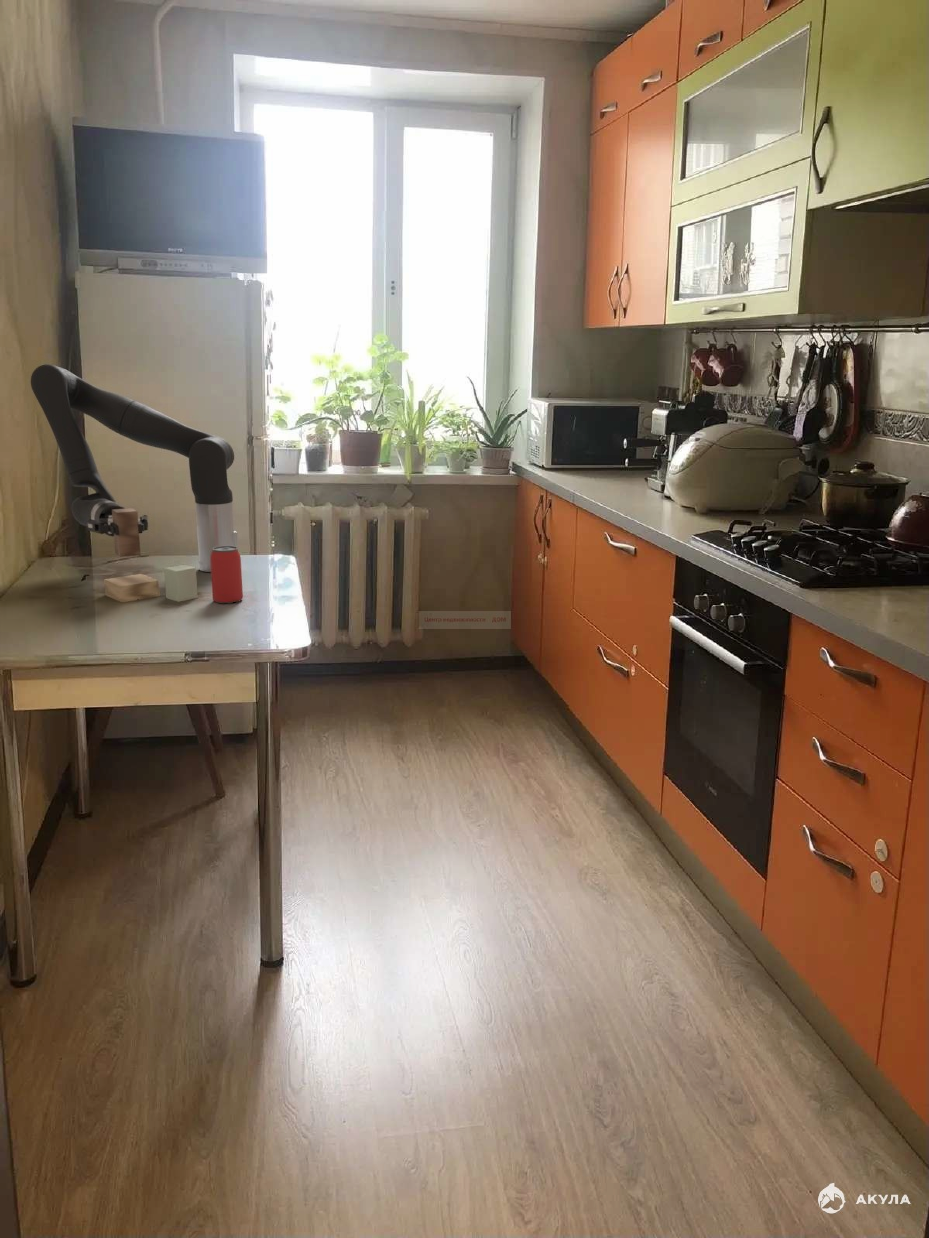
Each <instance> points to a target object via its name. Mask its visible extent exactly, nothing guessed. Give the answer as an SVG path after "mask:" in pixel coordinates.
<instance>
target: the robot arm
mask: <svg viewBox="0 0 929 1238" xmlns="http://www.w3.org/2000/svg"><path fill="white" fill-rule="evenodd" d="M30 386H31V387H30V388H31V390H32V393H33V394H34V397H35V399H36V400H37V402H38V404H39V406H40V408H41V409H42V411H43V413H44V416H45V418H46V420H47V422H48V424H49V426H50V428H51V431H52V433H53V436H54V438H55V441H56V444H57V446H58V448H59V452H60V455H61V457H62V461H63V463H64V464H63V465H64V467H65V470H66V474H67V475H68V478H69V479H68V480H69V481H70V484H71V485H72V486H73V487H76V488H77V487H78V488H91V489H92V490H93V491H95V493H91V494H90V493H89V494H86V495H82V496H78V497H76V498H75V499H74V500H73V501H72V503H71V508H70V509H71V513H72V516H73V518H74V519H75V520H76V522H78V524H80V525H82V526H85V527H87V529H88V532H92V533H95V534H96V533H97V534H100V535H104V534H105V535H107V536H109V537H113V538H114V535H119V526H118V525H116V524H115V523H113V518H112V510H114V509H126V508H125V507H123V506H122V505H121V504H119V503H117V502H116V500H115V498H114V496H113V495H112V494H111V492H110V491H109V489H108V488H107V485H105V483H104V481H103V479H102V477H101V476H100V474H99V470H98V468H97V464H96V462H95V459H94V456H93V452H92V450H91V448H90V446H89V443H88V442H87V439H86V437H85V436H84V434H83V433H82V431H81V429H80V427H79V425H78V423H77V421H76V419H75V416H74V414H73V412H72V410H73V411H76V412H79V413H82V414H85V415H86V416H89V417H91V418H93V419H94V420H96V421H97V422H99V423H100V424H101V425H103V426H105V427H106V428H108V429H109V430H111V431H113V432H115V433H117V434H119V435H121V436H122V437H124V438H128V439H130V440H132V441H134V442H137V443H139V444H142V445H146V446H148V447H152V448H157V449H161V450H166V451H171V452H174V453H177V454H179V455H182V456H183V457H186V458H188V466H189V467H188V468H189V477H190V486H191V491H192V494H193V496H194V502H195V503H194V504H195V518H196V519H195V521H196V532H197V533H196V534H197V535H196V536H197V549H198V552H197V553H198V565H199V570H200V571H201V572H207V573H211V563H210V557H211V554H212V551H213V550H212V549H213V548H214V547H219V546H235V547H237V548H238V549H237V550H238V551H239V541H238V540H239V537H238V532H237V531H236V530H235V519H234V515H235V514H234V503H233V501H234V500H233V499H234V498H233V492H232V491H233V490H231V489H230V486H229V484H228V473H227V470H228V469H229V468H231V466H232V465H233V464H234V461H235V452H234V450H233V448H232V446H231V444H230V443H229V441H227V440H226V439H224V438H222V437H221V436H218V435H213V434H210V433H207V432H204V431H201V430H199V429H196V428H193V427H190V426H188V425H185V424H183V423H182V422H179V421H177V420H176V419H174V418H172V417H170V416H167V415H166V414H164V413H162V412H160V411H158V410H155V409H154V408H152V407H150V406H148V405H145V404H144V403H141V402H139V401H137V400H134V399H132V398H129V397H127V396H123V395H121V394H118V393H114V392H111V391H107V390H103V389H101V388H99V387H97V386H95V385H94V384H91V383H89V382H88V381H86V380H84V379H83V378H81V377H79V376H77V375H75V374H74V373H73V372H71V371H69V370H67V369H65V368H63V367H60V366H57V365H55V364H49V363H47V364H46V363H45V364H41V365H39V366H37V367H36V368H35V369H34V370H33V371H32V373H31V376H30ZM148 518H149V517H148V515H146V514H143V515H142V516H139V518H138V529H139V534H143V532H144V531H147V530H148V531H149V519H148Z"/></svg>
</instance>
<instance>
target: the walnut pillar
mask: <svg viewBox="0 0 929 1238" xmlns="http://www.w3.org/2000/svg"><path fill="white" fill-rule="evenodd" d="M112 518H113V523H115V524H116V525H118V526H119V535H114V537H113V539H114V540H113V541H114V542H113V543H114V552H115V554H116V555H117V556H118V557H119V558H124V557H133V556H134V557H135V556H141V545H140V544H141V543H140V533H139V529H138V519H139V514H138V510H136V509H134V508H133V507H129V508H125V509H114V510H112Z"/></svg>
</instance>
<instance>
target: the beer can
mask: <svg viewBox="0 0 929 1238" xmlns="http://www.w3.org/2000/svg"><path fill="white" fill-rule="evenodd" d="M237 549H238V550H237ZM212 550H213V551H212V554H211V557H210V563H211V572H210V577H211V591H212V600H213V602H215V603H217V602H218V604H223V603H229V604H234V603H233V602H236V603H239V602H241V601H242V600H243V598H244V593H243V579H242V578H243V575H242V574H243V573H242V557H241V554H240V552H239V547H238V548H237V547H235V546H219V547H214V548H213V549H212ZM240 600H241V601H240Z"/></svg>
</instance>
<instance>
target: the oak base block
mask: <svg viewBox="0 0 929 1238" xmlns="http://www.w3.org/2000/svg"><path fill="white" fill-rule="evenodd" d="M103 583H104V595H105V596H106V597H109V598H111V599H113V600H116V601H118V602H120V603H126V602H132V601H138V600H137V599H139V600H145V599H149V598H156V597H157V598H158V597H160V584H159V580H158V579H155V578H153V577H151V576H149V575H145V574H144V573H137V574H132V575H125V576H118V577H110V578H104V580H103Z"/></svg>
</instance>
